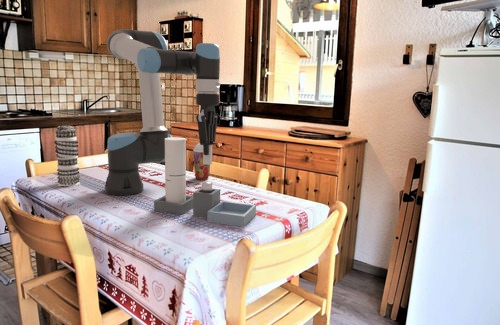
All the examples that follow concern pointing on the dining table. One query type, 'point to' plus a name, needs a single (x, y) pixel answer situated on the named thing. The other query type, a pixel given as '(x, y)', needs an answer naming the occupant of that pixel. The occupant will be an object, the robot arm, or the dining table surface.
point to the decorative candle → (67, 156)
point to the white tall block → (175, 169)
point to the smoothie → (200, 164)
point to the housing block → (205, 201)
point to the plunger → (207, 186)
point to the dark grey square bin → (173, 205)
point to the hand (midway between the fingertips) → (207, 164)
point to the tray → (231, 213)
